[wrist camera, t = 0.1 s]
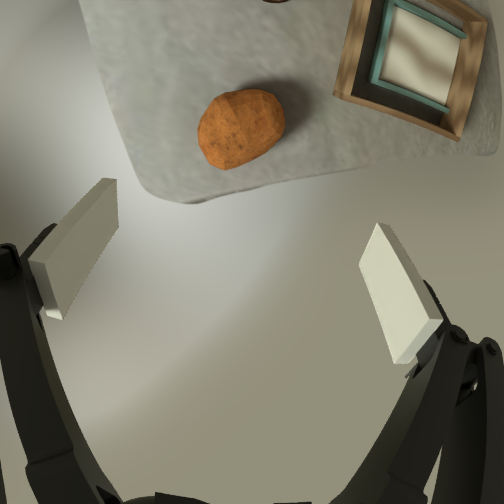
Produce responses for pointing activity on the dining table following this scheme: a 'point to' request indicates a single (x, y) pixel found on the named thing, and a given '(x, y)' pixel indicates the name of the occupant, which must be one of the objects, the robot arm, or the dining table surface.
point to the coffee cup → (275, 1)
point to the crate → (418, 60)
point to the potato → (240, 127)
